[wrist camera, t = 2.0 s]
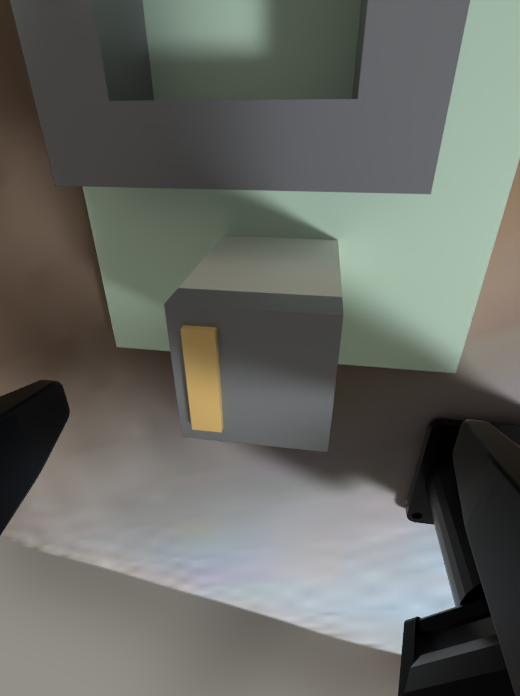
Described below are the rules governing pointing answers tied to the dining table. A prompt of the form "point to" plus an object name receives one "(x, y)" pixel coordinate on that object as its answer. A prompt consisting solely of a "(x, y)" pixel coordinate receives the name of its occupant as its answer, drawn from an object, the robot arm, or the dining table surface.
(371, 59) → the grey flat square frame
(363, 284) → the circuit board
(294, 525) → the dining table surface
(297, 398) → the plug
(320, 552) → the dining table surface
